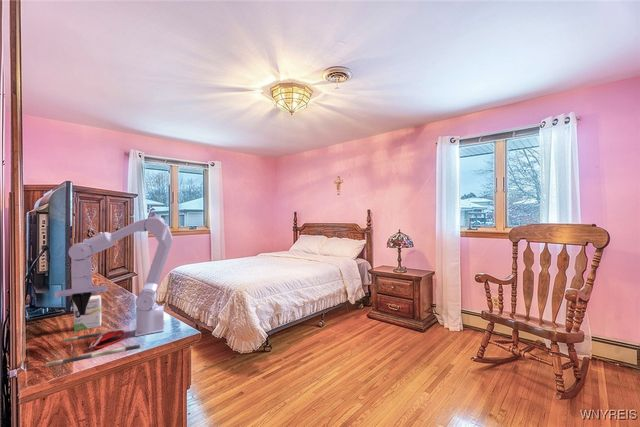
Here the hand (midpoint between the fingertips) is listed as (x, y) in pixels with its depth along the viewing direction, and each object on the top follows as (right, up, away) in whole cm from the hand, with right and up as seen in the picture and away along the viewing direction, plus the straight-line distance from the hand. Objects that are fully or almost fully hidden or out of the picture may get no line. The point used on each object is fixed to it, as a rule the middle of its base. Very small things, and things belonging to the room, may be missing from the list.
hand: (82, 314), depth 107 cm
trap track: (+8, -9, -4) cm, 13 cm away
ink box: (-8, -10, +13) cm, 19 cm away
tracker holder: (+9, -10, -3) cm, 14 cm away
